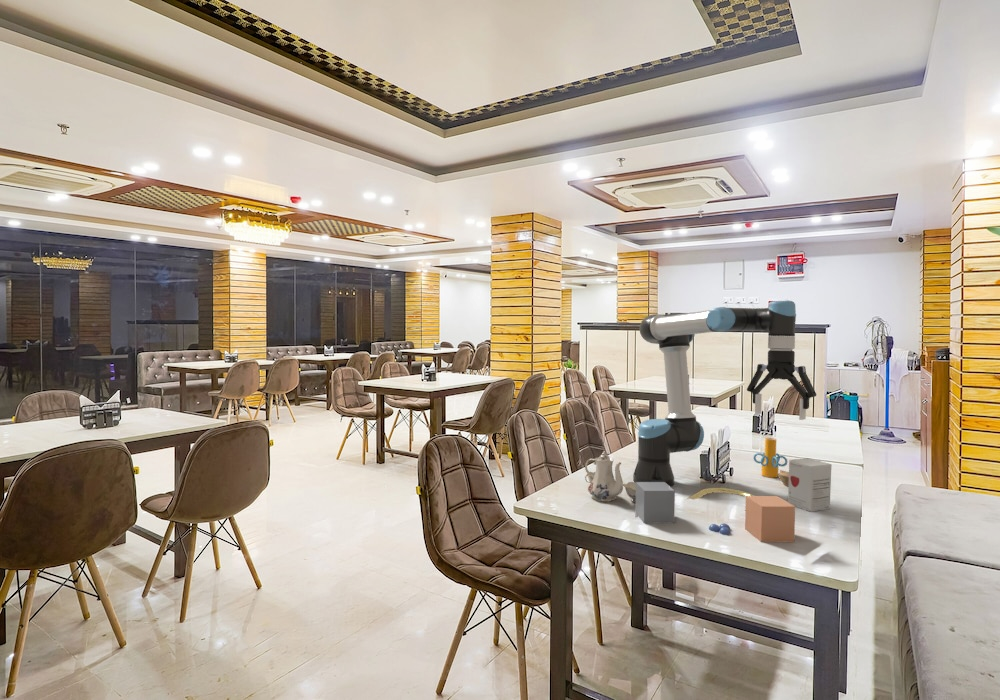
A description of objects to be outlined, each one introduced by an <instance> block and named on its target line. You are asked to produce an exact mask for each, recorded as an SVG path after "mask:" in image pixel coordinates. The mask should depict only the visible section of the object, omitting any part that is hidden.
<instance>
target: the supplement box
mask: <svg viewBox="0 0 1000 700" xmlns="http://www.w3.org/2000/svg"><path fill="white" fill-rule="evenodd" d="M788 463H789V464H788V465H789V466H788V472H789V487H787V489H788V490H787V491H788V492H787V493H788V494H787V495H788V497H787V499H788V500H787V502H788V503H790V504H792V505H793V506H795V508H800V509H802V510H805V511H807V512H811V513H813V512H819V511H823V510H824V509H825V510H830V509H831V485H832V467H833V466H832V465H833V464H831V463H828V462H824V461H820V460H817V459H813V458H808V457H805V458H796V459H789V462H788ZM818 510H819V511H818ZM825 510H824V511H825Z"/></svg>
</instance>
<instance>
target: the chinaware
mask: <svg viewBox="0 0 1000 700" xmlns="http://www.w3.org/2000/svg"><path fill="white" fill-rule="evenodd" d="M590 461H593V463H592V464H593V465H594V466H595V471H594V472H593V471H589V470H588V463H589V462H590ZM613 463H614V458H611V457H610V456H609V455H607V452H606V451H604V450H603V452H602V453H601V454H600V455H599V457H595V458H589V459H587V460H586V462H585V464H584V470H585V472H586V475H585V476H584V478H585V481H586V483H588V484H589V483H590V484H589V486H588V487H587V491H588V492H589V494H590V495H591V499H593V500H594V501H595V500H596V501H598V500H600V501H599V502H612V501H611V500H614V501H616V500H617V496H619V495H620V494H621V493H623V491H624V490H623V489H624V488H625V492H626V494H627V496H628V497H629V498H630V499H631V500H632V499H633V501H632V502H634V501H636V482H634V481H628V482H627V483H624V481H623V477H622V473H621V470H620V466H621V465H622V462H617V463H616V464H615V466H614V473H615V474H614V473H613ZM614 475H615V476H614ZM587 478H588V480H587ZM615 499H616V500H615Z"/></svg>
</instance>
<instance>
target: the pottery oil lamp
mask: <svg viewBox="0 0 1000 700" xmlns="http://www.w3.org/2000/svg"><path fill="white" fill-rule="evenodd" d="M778 477H779V480H780V481H781V482H782V485H784V486H785V487H787V488H789V471H786V470H785V471H784V470H782V469H781V470H779V472H778Z"/></svg>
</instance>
